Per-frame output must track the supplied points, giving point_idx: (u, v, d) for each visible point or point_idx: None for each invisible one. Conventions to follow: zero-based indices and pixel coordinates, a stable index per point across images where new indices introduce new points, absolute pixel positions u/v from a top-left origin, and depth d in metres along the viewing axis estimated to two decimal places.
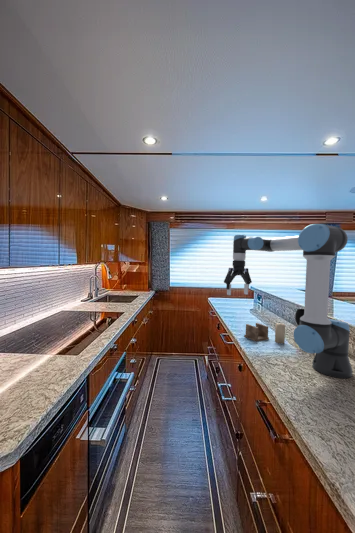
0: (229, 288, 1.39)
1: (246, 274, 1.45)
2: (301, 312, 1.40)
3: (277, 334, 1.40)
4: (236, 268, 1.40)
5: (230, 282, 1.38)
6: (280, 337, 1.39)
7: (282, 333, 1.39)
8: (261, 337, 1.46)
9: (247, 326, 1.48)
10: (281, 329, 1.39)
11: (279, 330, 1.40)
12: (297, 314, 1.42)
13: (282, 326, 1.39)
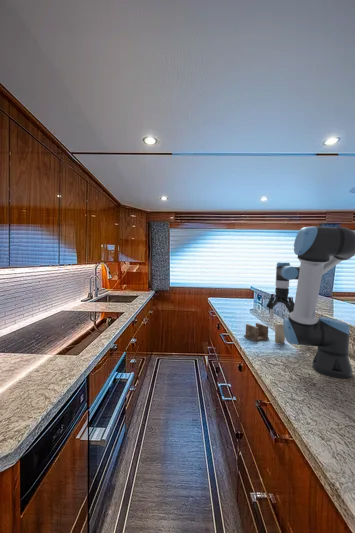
0: (270, 312, 1.48)
1: None
2: None
3: (277, 334, 1.40)
4: (276, 295, 1.43)
5: (270, 307, 1.47)
6: (280, 337, 1.39)
7: (282, 333, 1.39)
8: (261, 337, 1.46)
9: (247, 326, 1.48)
10: (281, 329, 1.39)
11: (279, 330, 1.40)
12: None
13: (282, 326, 1.39)
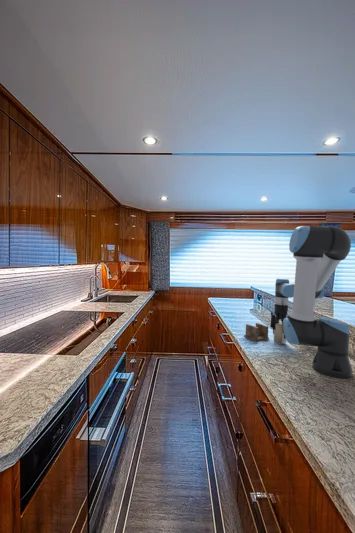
0: (274, 333, 1.45)
1: None
2: None
3: (277, 334, 1.40)
4: (275, 311, 1.44)
5: (274, 327, 1.44)
6: (280, 337, 1.39)
7: None
8: (261, 337, 1.46)
9: (247, 326, 1.48)
10: (281, 329, 1.39)
11: (279, 330, 1.40)
12: None
13: (282, 326, 1.39)
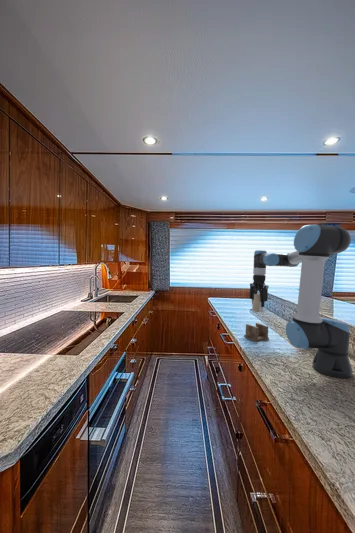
0: None
1: None
2: None
3: (255, 303, 1.46)
4: (254, 282, 1.50)
5: (252, 297, 1.50)
6: (258, 305, 1.45)
7: (259, 302, 1.45)
8: (261, 337, 1.46)
9: (247, 326, 1.48)
10: (259, 298, 1.45)
11: (257, 299, 1.46)
12: None
13: None
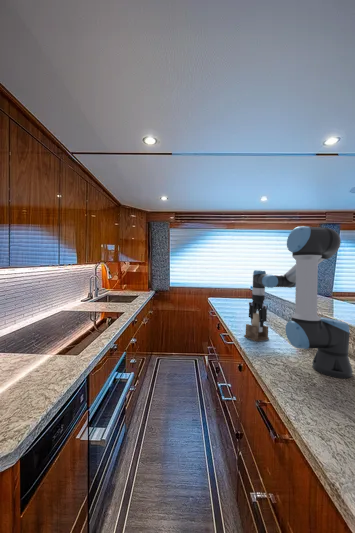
0: (252, 323, 1.51)
1: None
2: None
3: (254, 323, 1.47)
4: (253, 301, 1.50)
5: (251, 317, 1.50)
6: (257, 325, 1.45)
7: None
8: (261, 337, 1.46)
9: (247, 326, 1.48)
10: (258, 318, 1.45)
11: (256, 319, 1.46)
12: None
13: None
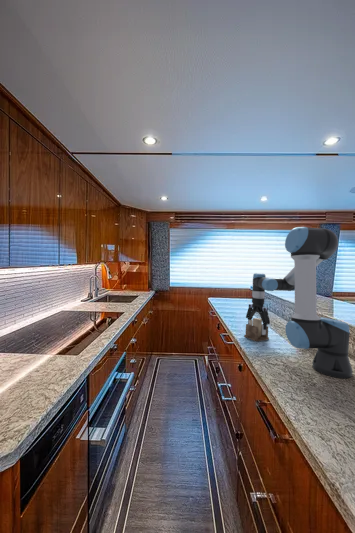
0: (249, 323, 1.53)
1: None
2: None
3: None
4: (253, 304, 1.50)
5: (249, 318, 1.53)
6: None
7: (258, 327, 1.45)
8: (261, 337, 1.46)
9: (247, 326, 1.48)
10: (257, 324, 1.45)
11: (256, 325, 1.46)
12: None
13: (258, 321, 1.45)
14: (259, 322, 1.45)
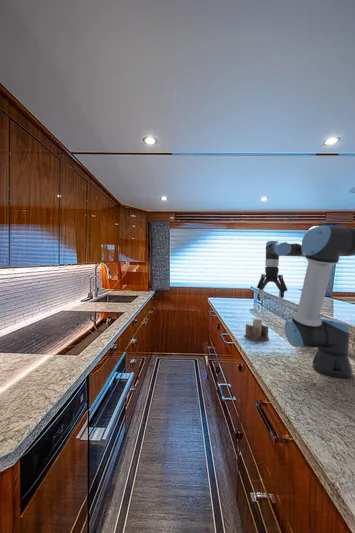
0: None
1: None
2: None
3: None
4: (266, 274, 1.43)
5: (260, 287, 1.46)
6: None
7: (259, 327, 1.45)
8: (261, 337, 1.46)
9: (247, 326, 1.48)
10: (258, 324, 1.45)
11: (256, 325, 1.46)
12: None
13: (259, 321, 1.45)
14: (259, 322, 1.45)
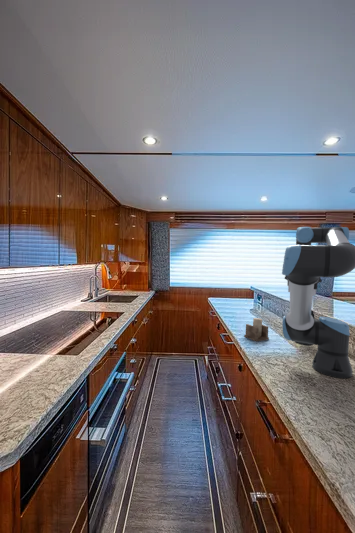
0: (289, 285, 1.34)
1: None
2: None
3: None
4: None
5: None
6: None
7: (259, 327, 1.45)
8: (261, 337, 1.46)
9: (247, 326, 1.48)
10: (258, 324, 1.45)
11: (256, 325, 1.46)
12: None
13: (259, 321, 1.45)
14: (260, 322, 1.45)
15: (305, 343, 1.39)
